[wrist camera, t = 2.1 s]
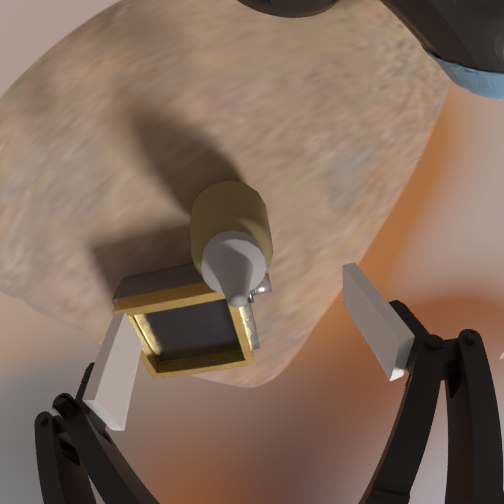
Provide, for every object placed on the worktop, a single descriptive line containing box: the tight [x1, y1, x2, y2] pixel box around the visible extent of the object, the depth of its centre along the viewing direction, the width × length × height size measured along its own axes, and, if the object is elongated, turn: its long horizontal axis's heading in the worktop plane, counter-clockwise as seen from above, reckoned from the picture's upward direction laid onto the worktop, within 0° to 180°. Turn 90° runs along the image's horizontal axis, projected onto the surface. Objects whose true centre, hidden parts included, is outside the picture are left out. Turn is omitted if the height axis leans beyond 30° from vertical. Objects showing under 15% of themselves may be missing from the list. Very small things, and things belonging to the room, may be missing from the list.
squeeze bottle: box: [190, 180, 273, 308], centre depth 25 cm, size 8×8×18 cm
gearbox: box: [112, 263, 272, 379], centre depth 35 cm, size 19×12×8 cm, turn 101°
